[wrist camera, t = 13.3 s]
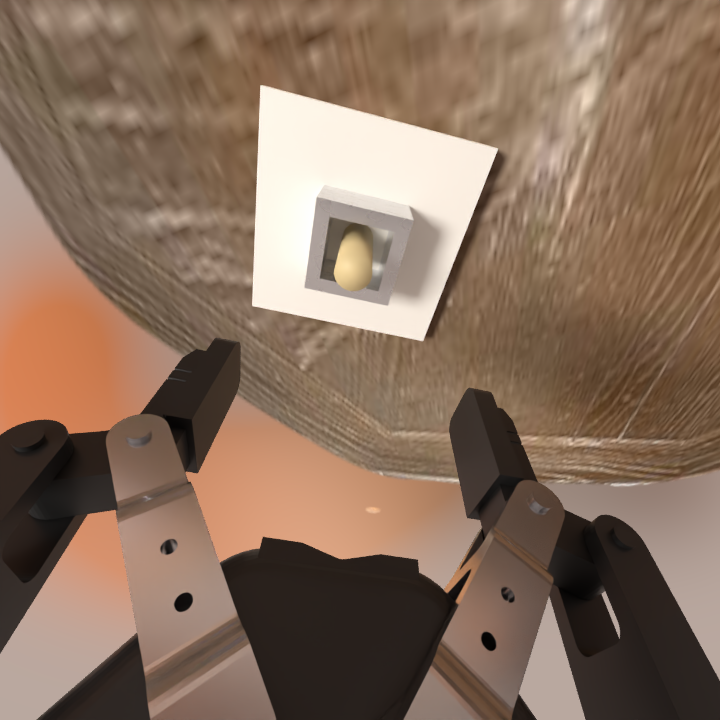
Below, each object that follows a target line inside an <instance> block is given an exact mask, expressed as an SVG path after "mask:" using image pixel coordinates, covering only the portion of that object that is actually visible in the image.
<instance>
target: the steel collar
mask: <svg viewBox="0 0 720 720" xmlns="http://www.w3.org/2000/svg"><path fill="white" fill-rule="evenodd" d="M333 218H337V219H341V220H346V221H350V222H354V223H358V224H362V225H367V226H371V227H375V228H379V229H383V230H388V235H387V239H386V243H385V247H384V250H383V254H382V258H381V262H380V266H379V269H378V270H375V269H372V278H371V281H370V283H369V284H368V285H367V286H366V287H365V288H364V289H362V290H359V291H348V290H346V289H344V288H342V287H341V286H340V285H339V284H338V283H337V282H336V280H335V277H334V269H335V265H336V261H335V260H331V259H326V255H327V249H328V243H329V237H330V231H331V225H332V219H333ZM413 221H414V220H413V217H412V213H411V210H410V207H409V205H405V204H401V203H397V202H392V201H388V200H384V199H380V198H376V197H372V196H368V195H364V194H360V193H356V192H352V191H348V190H344V189H340V188H336V187H332V186H328V185H324V186H323V187H322V189H321V191H320V192H319V194H318V195H317V198H316V205H315V213H314V220H313V227H312V235H311V242H310V250H309V257H308V264H307V272H306V279H305V287H304V288H307V289H312V290H316V291H321V292H326V293H330V294H335V295H340V296H344V297H349V298H353V299H358V300H363V301H367V302H372V303H376V304H381V305H386V306H388V304H389V301H390V298H391V294H392V291H393V288H394V284H395V281H396V278H397V274H398V271H399V268H400V264H401V261H402V258H403V254H404V251H405V248H406V244H407V241H408V238H409V234H410V231H411V228H412V224H413Z"/></svg>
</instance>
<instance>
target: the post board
mask: <svg viewBox="0 0 720 720" xmlns="http://www.w3.org/2000/svg"><path fill="white" fill-rule="evenodd" d="M497 151H498V148H495V147H493V146H489V145H485V144H482V143H478V142H474V141H470V140H467V139H463V138H459V137H455V136H452V135H448V134H444V133H441V132H437V131H433V130H429V129H426V128H422V127H418V126H414V125H411V124H407V123H403V122H399V121H396V120H392V119H388V118H385V117H381V116H377V115H373V114H370V113H366V112H362V111H358V110H355V109H351V108H347V107H343V106H340V105H336V104H332V103H329V102H325V101H321V100H317V99H314V98H310V97H306V96H302V95H299V94H295V93H291V92H287V91H284V90H280V89H276V88H273V87H269V86H263V85H261V89H260V115H259V142H258V168H257V194H256V221H255V247H254V273H253V300H252V306H256V307H261V308H265V309H270V310H275V311H280V312H285V313H290V314H294V315H299V316H304V317H309V318H314V319H319V320H324V321H328V322H333V323H338V324H343V325H348V326H353V327H357V328H362V329H367V330H372V331H377V332H382V333H386V334H391V335H396V336H401V337H406V338H411V339H415V340H420V341H423V340H424V337H425V335H426V332H427V330H428V327H429V324H430V322H431V319H432V317H433V314H434V312H435V309H436V307H437V304H438V301H439V299H440V296H441V294H442V291H443V289H444V286H445V284H446V281H447V278H448V276H449V273H450V271H451V268H452V266H453V263H454V261H455V258H456V255H457V253H458V250H459V248H460V245H461V243H462V240H463V238H464V235H465V232H466V230H467V227H468V225H469V222H470V220H471V217H472V214H473V212H474V209H475V207H476V204H477V202H478V199H479V197H480V194H481V191H482V189H483V186H484V184H485V181H486V179H487V176H488V174H489V171H490V168H491V166H492V163H493V161H494V158H495V156H496V153H497ZM324 185H328V186H332V187H336V188H340V189H344V190H348V191H352V192H356V193H360V194H364V195H368V196H372V197H376V198H380V199H384V200H388V201H392V202H397V203H401V204H405V205H409V207H410V210H411V213H412V217H413V220H414V221H413V224H412V228H411V231H410V234H409V238H408V241H407V244H406V248H405V251H404V254H403V258H402V261H401V264H400V268H399V271H398V274H397V278H396V281H395V284H394V288H393V291H392V294H391V298H390V301H389V304H388V306H386V305H381V304H376V303H372V302H367V301H363V300H358V299H353V298H349V297H344V296H340V295H335V294H330V293H326V292H321V291H316V290H312V289H307V288H304V287H305V279H306V272H307V264H308V257H309V250H310V242H311V235H312V227H313V220H314V213H315V205H316V198H317V195H318V194H319V192H320V191H321V189H322V187H323V186H324ZM387 235H388V230H383V229H379V228H375V227H371V226H367V225H362V224H358V223H354V222H350V221H346V220H341V219H337V218H333V219H332V225H331V231H330V237H329V243H328V249H327V255H326V259H331V260H335V261H336V265H335V269H334V277H335V280H336V282H337V283H338V284H339V285H340V286H341V287H342V288H344V289H346V290H348V291H359V290H362V289H364V288H365V287H366V286H367V285H368V284H369V283H370V281H371V278H372V269H375V270H378V269H379V266H380V262H381V258H382V254H383V250H384V247H385V243H386V239H387Z"/></svg>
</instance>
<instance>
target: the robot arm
mask: <svg viewBox="0 0 720 720" xmlns="http://www.w3.org/2000/svg"><path fill="white" fill-rule="evenodd" d="M239 382H240V343H239V342H237V341H232V340H226V339H221V338H215V339H214V340H213V342H212V343H211V345H210V346H209V348H208V349H207V351H203V350H198V349H196V350H195V351H193V352H191V353H190V354H188V355H186V356H185V357H183V358H182V359H181V361H180V362H179V363H178V365H177V366H176V367H175V370H174V371H172V373H171V374H170V375H169V377H168V380H167V379H166V381H165V382H164V383H163V385H162V386H161V387H160V389H159V390H158V391H157V393H156V394H155V395H154V397H153V398H152V399H151V400H150V402H149V403H148V405H147V406H146V407H145V408H144V410H143V411H142V412H141V414H139V415H135V416H131V417H128V418H126V419H123V420H122V421H120V422H118V423H117V424H115V425H114V426H113V427H112V428H111V429H110V430H108V431H100V432H88V433H75V434H69V433H68V431H67V429H66V427H65V426H64V425H63V424H61V423H59V422H57V421H53V420H35V421H31V422H26V423H23V424H20V425H17V426H15V427H13V428H11V429H9V430H7V431H6V432H4V433H3V434H1V435H0V653H1V651H2V650H3V648H4V646H5V645H6V644H7V642H8V640H9V639H10V637H11V636H12V634H13V632H14V631H15V629H16V628H17V626H18V624H19V623H20V621H21V620H22V618H23V617H24V615H25V613H26V612H27V610H28V609H29V607H30V605H31V604H32V602H33V601H34V599H35V597H36V596H37V594H38V593H39V591H40V589H41V588H42V586H43V585H44V583H45V581H46V580H47V578H48V577H49V575H50V573H51V572H52V570H53V569H54V567H55V565H56V564H57V562H58V561H59V559H60V558H61V556H62V554H63V553H64V551H65V549H66V548H67V546H68V545H69V543H70V541H71V540H72V538H73V537H74V535H75V534H76V532H77V530H78V529H79V527H80V525H81V524H82V522H83V521H84V519H85V518H86V516H87V514H90V513H97V512H104V511H111V510H116V515H117V522H118V528H119V533H120V539H121V544H122V550H123V556H124V561H125V567H126V572H127V578H128V584H129V589H130V595H131V601H132V606H133V612H134V617H135V623H136V628H137V633H136V634H135V635H134V636H133V637H132V638H130V639H129V640H128V641H127V642H126V643H124V644H123V645H122V646H121V647H120V648H119V649H118V650H117V651H115V652H114V653H113V654H112V655H111V656H110V657H109V658H107V659H106V660H105V661H104V662H103V663H101V664H100V665H99V666H98V667H97V668H96V669H94V670H93V671H92V672H91V673H90V674H89V675H88V676H86V677H85V678H84V679H83V680H82V681H81V682H80V683H78V684H77V685H76V686H75V687H74V688H72V689H71V690H70V691H69V692H68V693H67V694H66V695H64V696H63V697H62V698H61V699H60V700H59V701H57V702H56V703H55V704H54V705H53V706H52V707H51V708H49V709H48V710H47V711H46V712H45V713H44V714H43V715H41V716H40V717H39V718H38V719H37V720H537V719H536V718H535V716H534V715H533V714H532V712H531V711H530V709H529V708H528V707H527V705H526V704H525V702H524V701H523V699H522V698H521V696H520V695H519V690H520V687H521V684H522V681H523V677H524V674H525V671H526V668H527V665H528V661H529V658H530V655H531V652H532V648H533V645H534V642H535V639H536V636H537V633H538V629H539V626H540V623H541V619H542V616H543V613H544V610H545V607H546V604H547V600H548V597H549V596H550V600H551V603H552V606H553V609H554V613H555V617H556V620H557V623H558V627H559V630H560V634H561V637H562V640H563V644H564V647H565V651H566V654H567V658H568V661H569V664H570V668H571V671H572V675H573V678H574V681H575V685H576V688H577V692H578V695H579V699H580V702H581V705H582V709H583V712H584V716H585V719H586V720H720V681H719V679H718V677H717V675H716V673H715V671H714V670H713V668H712V666H711V664H710V662H709V660H708V658H707V657H706V655H705V653H704V651H703V649H702V647H701V646H700V644H699V642H698V640H697V638H696V636H695V635H694V633H693V631H692V629H691V627H690V625H689V624H688V622H687V620H686V618H685V616H684V614H683V613H682V611H681V609H680V607H679V605H678V604H677V602H676V600H675V598H674V596H673V594H672V593H671V591H670V589H669V587H668V585H667V583H666V581H665V580H664V578H663V576H662V574H661V572H660V571H659V569H658V567H657V565H656V563H655V561H654V559H653V558H652V556H651V554H650V552H649V550H648V548H647V547H646V545H645V543H644V542H643V540H642V539H641V537H640V536H639V535H638V534H637V533H636V531H634V530H633V529H632V528H631V527H630V526H629V525H627V524H626V523H625V522H623V521H621V520H620V519H618V518H616V517H613V516H610V515H600V516H598V517H597V518H596V519H595V520H594V521H592V522H590V521H588V520H586V519H583V518H581V517H579V516H577V515H575V514H573V513H571V512H568V511H566V510H564V508H563V505H562V503H561V502H560V500H559V499H558V497H557V496H556V495H555V494H554V493H553V492H552V491H551V490H550V489H548V488H547V487H546V486H544V485H542V484H540V483H538V481H537V479H536V477H535V474H534V472H533V469H532V467H531V464H530V462H529V459H528V457H527V455H526V452H525V450H524V447H523V446H522V445H521V443H522V442H521V440H520V438H519V435H517V430H516V428H515V425H514V423H513V421H512V419H511V418H510V417H509V416H508V415H507V413H506V412H505V411H504V410H503V409H501V408H497V405H496V402H495V400H494V397H493V395H492V393H491V392H488V391H483V390H478V389H473V388H468V389H467V390H466V392H465V393H464V395H463V397H462V399H461V401H460V403H459V405H458V407H457V408H456V410H455V412H454V414H453V416H452V418H451V421H450V427H449V433H450V438H451V443H452V448H453V453H454V457H455V462H456V467H457V472H458V477H459V481H460V486H461V491H462V496H463V501H464V505H465V510H466V515H467V518H471V519H477V520H480V521H481V525H482V528H481V529H480V530H479V532H478V533H477V535H476V537H475V538H474V540H473V542H472V544H471V546H470V547H469V549H468V551H467V553H466V554H465V556H464V558H463V560H462V561H461V563H460V565H459V567H458V568H457V570H456V572H455V574H454V575H453V577H452V578H451V580H450V581H449V583H448V584H447V586H446V587H445V588H444V590H443V589H442V588H441V587H440V586H439V585H438V584H436V583H435V582H434V581H432V580H431V579H429V578H428V577H426V576H424V575H422V574H421V573H419V568H418V560H416V559H409V558H402V557H394V556H388V555H382V554H380V555H373V556H366V557H359V558H351V559H343V560H342V559H338V558H335V557H333V556H331V555H329V554H326V553H324V552H322V551H320V550H317V549H315V548H313V547H311V546H308V545H306V544H304V543H300V542H293V541H287V540H280V539H273V538H266V537H263V539H262V543H261V547H260V549H253V550H249V551H245V552H242V553H239V554H236V555H234V556H231V557H229V558H227V559H226V560H224V561H222V562H220V563H219V560H218V557H217V554H216V551H215V548H214V546H213V542H212V540H211V537H210V534H209V531H208V528H207V526H206V523H205V520H204V517H203V514H202V511H201V508H200V505H199V503H198V499H197V497H196V494H195V491H194V488H193V486H192V484H191V482H188V479H187V477H186V474H185V472H186V471H187V472H193V473H198V472H199V470H200V468H201V466H202V464H203V462H204V460H205V457H206V455H207V453H208V451H209V449H210V447H211V445H212V443H213V441H214V439H215V437H216V434H217V433H218V431H219V429H220V426H221V424H222V422H223V420H224V418H225V416H226V414H227V412H228V410H229V408H230V406H231V404H232V402H233V400H234V397H235V395H236V393H237V390H238V387H239ZM604 591H606V594H607V596H608V598H609V601H610V603H611V606H612V608H613V611H614V613H615V616H616V618H617V620H618V623H619V627H620V639H619V637H618V634H617V632H616V629H615V627H614V624H613V622H612V619H611V617H610V614H609V612H608V609H607V607H606V605H605V602H604V600H603V597H602V594H601V593H603V592H604Z"/></svg>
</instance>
